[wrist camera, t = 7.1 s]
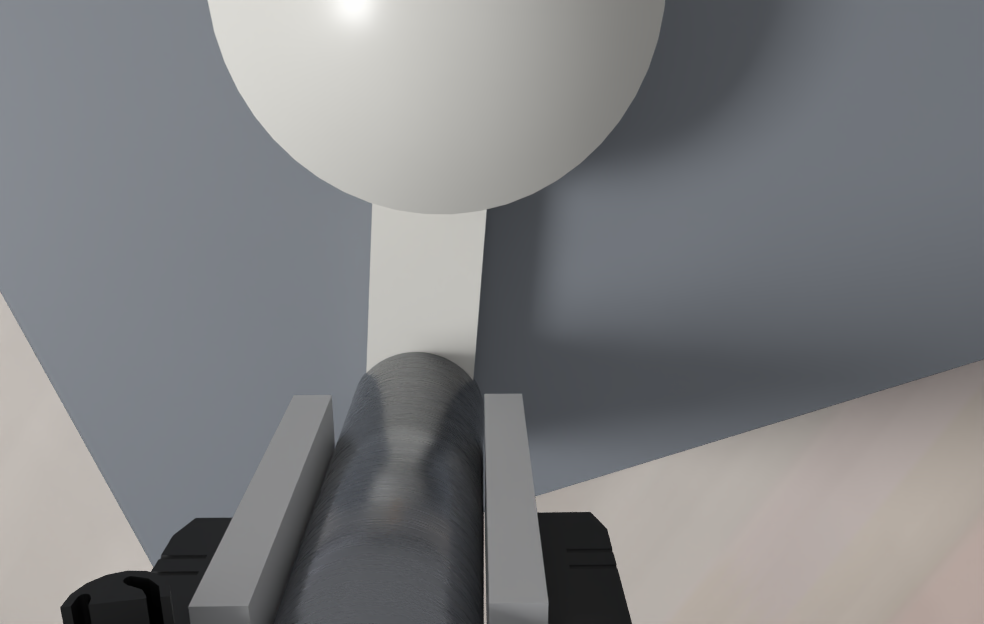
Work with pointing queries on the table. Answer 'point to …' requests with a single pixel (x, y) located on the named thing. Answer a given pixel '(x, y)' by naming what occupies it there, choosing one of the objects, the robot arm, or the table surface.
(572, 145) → the white grey handled piece
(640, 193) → the dial base plate
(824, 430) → the table surface
